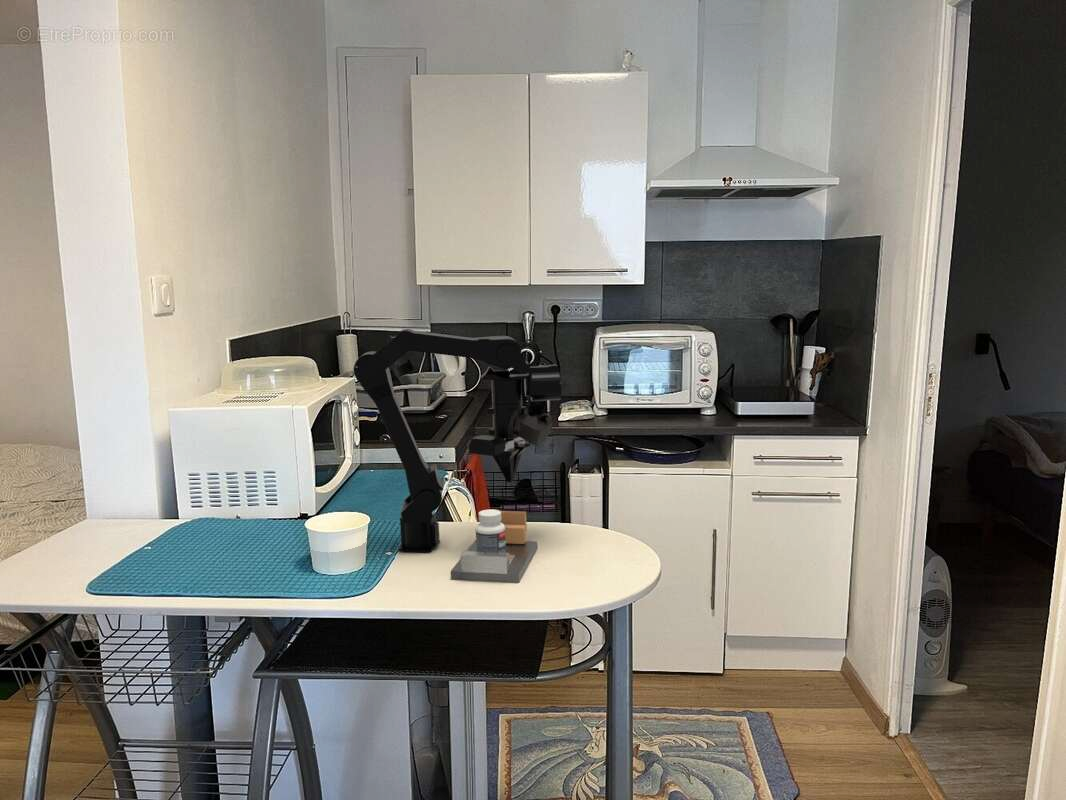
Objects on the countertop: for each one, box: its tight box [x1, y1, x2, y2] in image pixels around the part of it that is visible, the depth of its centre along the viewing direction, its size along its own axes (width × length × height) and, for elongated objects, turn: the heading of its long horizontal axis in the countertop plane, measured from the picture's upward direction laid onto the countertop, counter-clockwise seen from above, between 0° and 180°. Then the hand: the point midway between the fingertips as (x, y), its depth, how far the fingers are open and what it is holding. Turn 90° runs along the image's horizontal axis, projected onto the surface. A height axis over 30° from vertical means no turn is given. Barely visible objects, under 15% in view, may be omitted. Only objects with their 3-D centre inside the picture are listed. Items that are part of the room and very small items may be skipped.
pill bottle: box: [475, 508, 506, 553], centre depth 140 cm, size 5×5×9 cm
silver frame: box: [450, 539, 538, 584], centre depth 144 cm, size 12×17×4 cm
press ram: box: [500, 510, 528, 544], centre depth 153 cm, size 8×8×4 cm
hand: (510, 481), depth 154 cm, fingers closed
